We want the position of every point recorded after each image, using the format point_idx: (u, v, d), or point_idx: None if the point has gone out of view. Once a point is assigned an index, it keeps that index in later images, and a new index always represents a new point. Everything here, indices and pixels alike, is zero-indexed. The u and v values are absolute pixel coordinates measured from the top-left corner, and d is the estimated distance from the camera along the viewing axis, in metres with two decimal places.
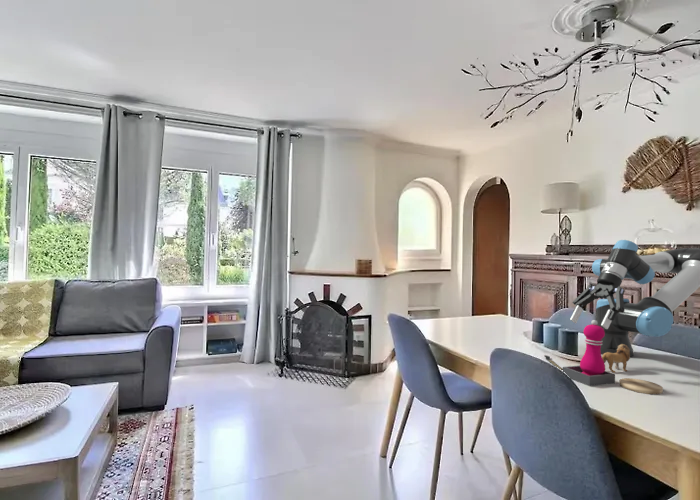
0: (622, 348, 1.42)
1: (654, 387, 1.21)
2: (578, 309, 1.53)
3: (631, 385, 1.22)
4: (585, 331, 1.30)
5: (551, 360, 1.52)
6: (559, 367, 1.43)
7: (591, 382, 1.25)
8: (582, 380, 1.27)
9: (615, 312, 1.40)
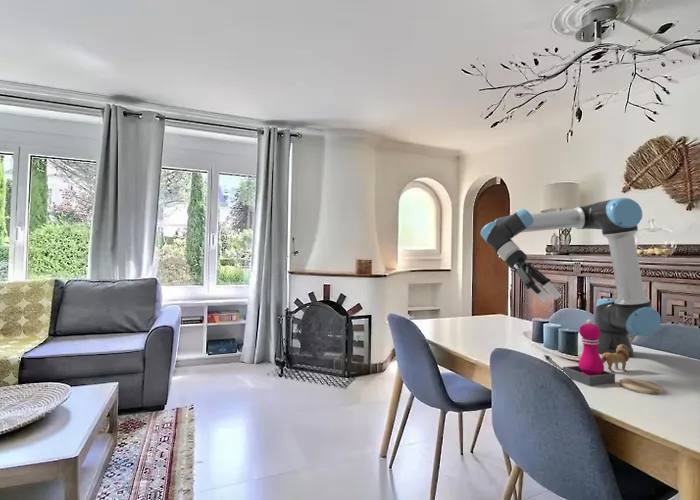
0: (621, 348, 1.42)
1: (654, 387, 1.21)
2: (546, 287, 1.48)
3: (631, 385, 1.22)
4: (581, 331, 1.31)
5: (551, 360, 1.52)
6: (559, 367, 1.43)
7: (591, 382, 1.25)
8: (582, 380, 1.27)
9: (532, 286, 1.38)
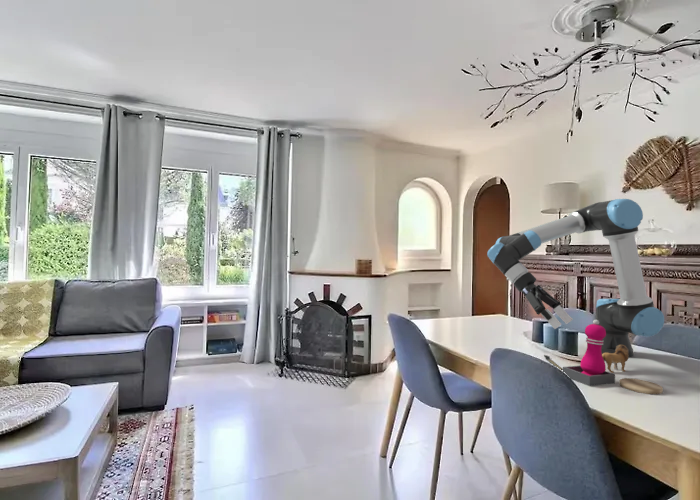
0: (621, 348, 1.42)
1: (654, 387, 1.21)
2: (557, 311, 1.43)
3: (631, 385, 1.22)
4: (587, 330, 1.30)
5: (551, 360, 1.52)
6: (559, 367, 1.43)
7: (591, 382, 1.25)
8: (582, 380, 1.27)
9: (542, 312, 1.33)
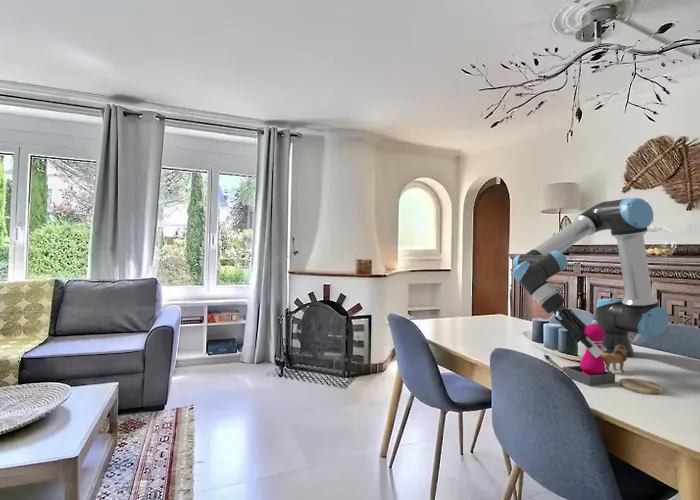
0: (619, 348, 1.42)
1: (654, 387, 1.21)
2: None
3: (631, 385, 1.22)
4: (586, 331, 1.30)
5: (550, 360, 1.52)
6: (558, 366, 1.43)
7: (591, 382, 1.25)
8: (582, 380, 1.27)
9: (583, 340, 1.28)
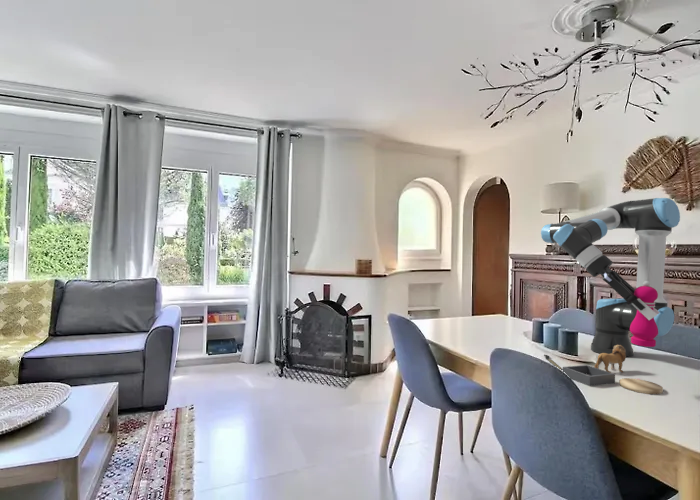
0: (618, 349, 1.41)
1: (654, 387, 1.21)
2: None
3: (631, 385, 1.22)
4: (637, 293, 1.22)
5: (550, 359, 1.53)
6: (558, 366, 1.44)
7: (591, 382, 1.25)
8: (582, 380, 1.27)
9: (634, 302, 1.21)
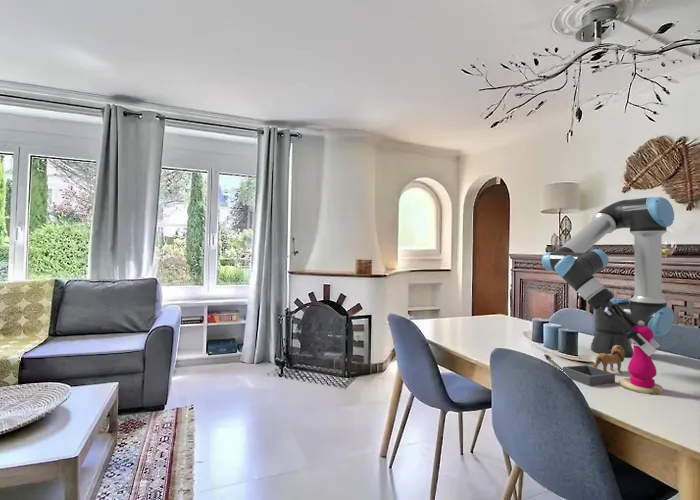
0: (616, 349, 1.41)
1: (654, 387, 1.21)
2: None
3: (631, 385, 1.22)
4: None
5: (550, 359, 1.53)
6: (558, 366, 1.44)
7: (591, 382, 1.25)
8: (582, 380, 1.27)
9: (634, 337, 1.20)
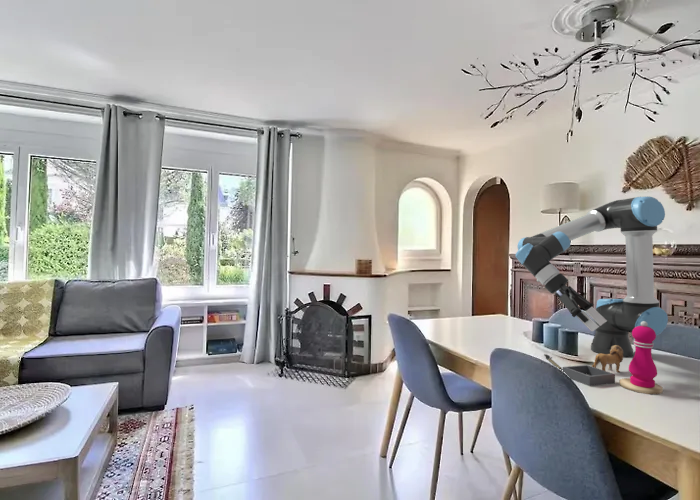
0: (615, 349, 1.41)
1: (654, 387, 1.21)
2: (590, 313, 1.40)
3: (631, 385, 1.22)
4: (635, 333, 1.22)
5: (550, 359, 1.53)
6: (558, 366, 1.44)
7: (591, 382, 1.25)
8: (582, 380, 1.27)
9: (578, 314, 1.29)
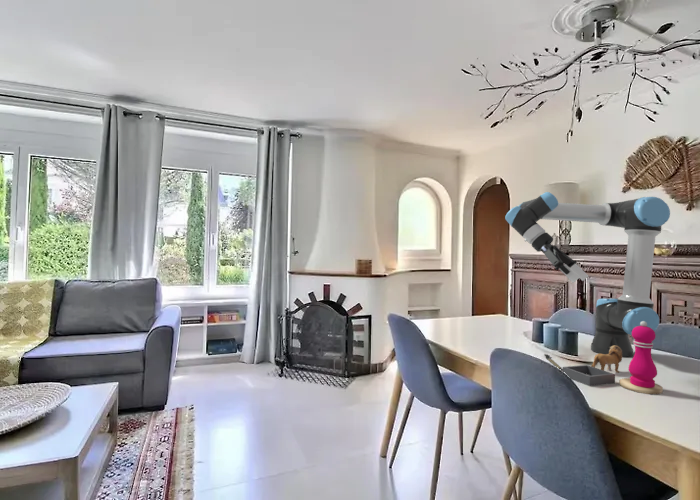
0: (614, 349, 1.40)
1: (654, 387, 1.21)
2: (573, 269, 1.50)
3: (631, 385, 1.22)
4: (635, 333, 1.22)
5: (550, 359, 1.53)
6: (557, 366, 1.44)
7: (591, 382, 1.25)
8: (582, 380, 1.27)
9: (561, 267, 1.40)
